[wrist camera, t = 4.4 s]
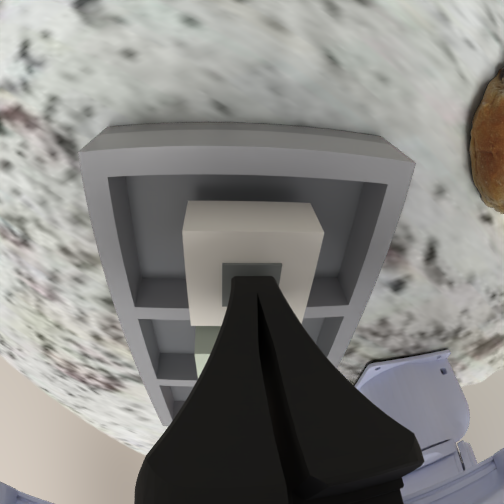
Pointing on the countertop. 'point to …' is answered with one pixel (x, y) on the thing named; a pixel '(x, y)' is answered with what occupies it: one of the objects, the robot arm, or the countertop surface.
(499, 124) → the bread roll
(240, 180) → the grey compartment tray
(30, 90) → the countertop surface
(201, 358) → the key sage
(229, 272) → the key offwhite
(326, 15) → the countertop surface
